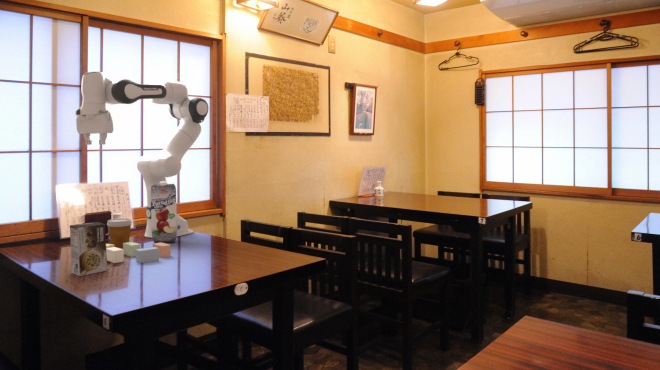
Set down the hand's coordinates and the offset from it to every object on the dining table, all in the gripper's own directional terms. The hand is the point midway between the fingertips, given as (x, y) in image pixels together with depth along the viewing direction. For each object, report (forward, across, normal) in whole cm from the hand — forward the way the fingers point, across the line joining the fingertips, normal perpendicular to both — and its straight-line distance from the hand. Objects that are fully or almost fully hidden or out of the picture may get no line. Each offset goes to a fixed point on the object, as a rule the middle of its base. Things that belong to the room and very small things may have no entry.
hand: (95, 144), depth 195 cm
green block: (+43, -26, +3) cm, 50 cm away
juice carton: (+43, -16, -21) cm, 51 cm away
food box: (+43, -37, +27) cm, 63 cm away
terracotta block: (+43, -37, -2) cm, 57 cm away
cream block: (+43, -29, +13) cm, 54 cm away
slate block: (+43, -39, +6) cm, 59 cm away
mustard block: (+43, -18, +10) cm, 48 cm away
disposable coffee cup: (+43, -12, -1) cm, 45 cm away
